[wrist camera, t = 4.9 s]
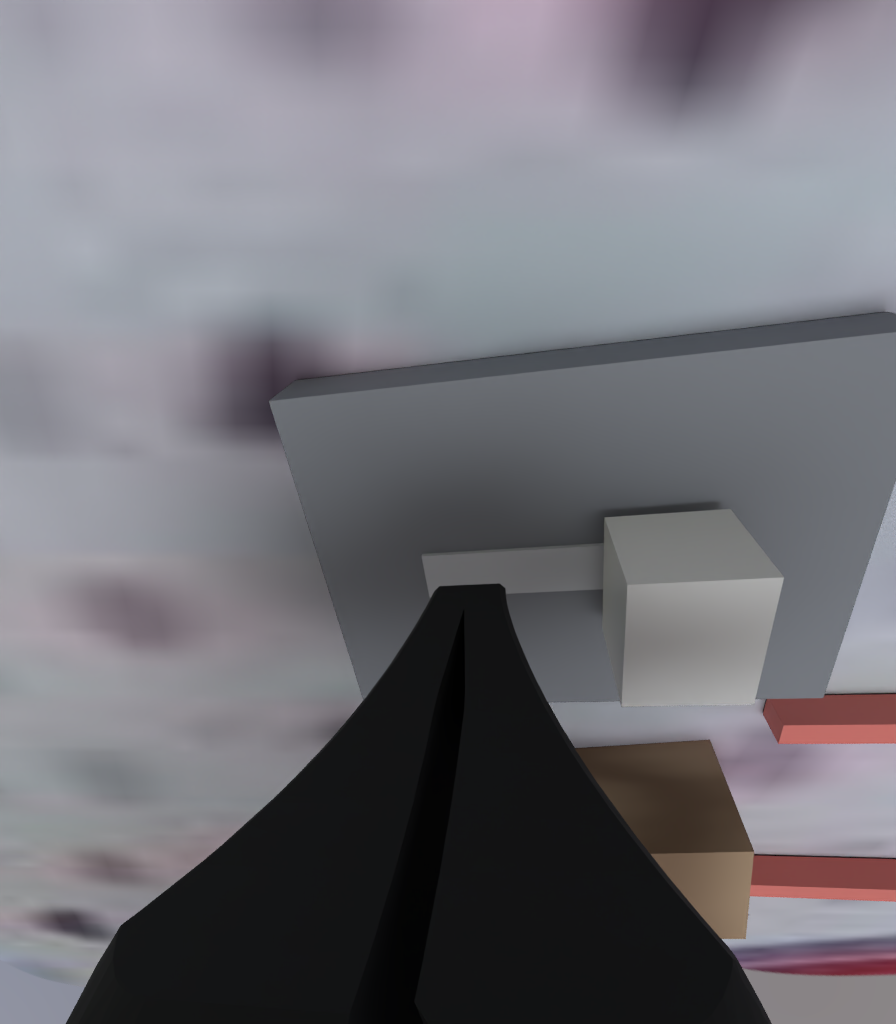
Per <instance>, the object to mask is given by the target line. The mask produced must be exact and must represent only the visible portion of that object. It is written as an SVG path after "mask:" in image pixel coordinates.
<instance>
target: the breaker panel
mask: <svg viewBox="0 0 896 1024" xmlns="http://www.w3.org/2000/svg"><path fill="white" fill-rule="evenodd" d="M269 403H270V407H271V410H272V413H273V416H274V419H275V422H276V425H277V429H278V432H279V435H280V438H281V441H282V444H283V448H284V451H285V454H286V457H287V460H288V463H289V466H290V470H291V473H292V476H293V479H294V482H295V485H296V489H297V492H298V495H299V498H300V501H301V504H302V507H303V511H304V514H305V517H306V520H307V523H308V526H309V530H310V533H311V536H312V539H313V542H314V545H315V548H316V552H317V555H318V558H319V561H320V564H321V567H322V571H323V574H324V577H325V580H326V583H327V586H328V590H329V593H330V596H331V599H332V602H333V605H334V608H335V612H336V615H337V618H338V621H339V624H340V627H341V631H342V634H343V637H344V640H345V643H346V646H347V649H348V653H349V656H350V659H351V662H352V665H353V668H354V672H355V675H356V678H357V681H358V684H359V687H360V690H361V694H362V697H363V700H364V699H365V698H366V696H367V695H368V694H369V692H370V691H371V690H372V688H373V687H374V686H375V684H376V683H377V682H378V680H379V679H380V678H381V676H382V675H383V673H384V672H385V671H386V669H387V668H388V667H389V665H390V664H391V662H392V661H393V659H394V658H395V656H396V655H397V653H398V652H399V650H400V649H401V647H402V646H403V644H404V642H405V641H406V639H407V638H408V636H409V635H410V633H411V632H412V630H413V628H414V627H415V625H416V623H417V622H418V620H419V618H420V617H421V615H422V613H423V611H424V610H425V608H426V606H427V604H428V602H429V600H430V599H431V597H432V595H433V593H434V591H435V590H436V589H437V588H438V587H439V586H453V585H475V584H497V583H500V584H501V585H502V586H503V587H505V589H506V600H507V605H508V610H509V613H510V617H511V620H512V623H513V626H514V629H515V632H516V635H517V637H518V640H519V642H520V645H521V647H522V649H523V652H524V654H525V656H526V659H527V661H528V663H529V666H530V668H531V670H532V672H533V674H534V676H535V678H536V680H537V682H538V684H539V686H540V688H541V690H542V692H543V694H544V696H545V698H546V700H547V702H605V701H620V698H619V694H618V690H617V686H616V682H615V678H614V674H613V670H612V666H611V662H610V657H609V653H608V649H607V645H606V641H605V637H604V633H603V629H602V618H603V565H604V517H617V516H632V515H647V514H662V513H677V512H691V511H706V510H721V509H731V510H732V512H733V513H734V514H735V515H736V517H737V518H738V519H739V520H740V522H741V523H742V524H743V526H744V527H745V528H746V529H747V531H748V532H749V533H750V534H751V536H752V537H753V538H754V540H755V541H756V542H757V543H758V545H759V546H760V547H761V548H762V550H763V551H764V552H765V554H766V555H767V556H768V557H769V559H770V560H771V561H772V563H773V564H774V565H775V566H776V568H777V569H778V570H779V571H780V573H781V574H782V575H783V577H784V580H783V584H782V589H781V593H780V597H779V601H778V606H777V610H776V614H775V618H774V622H773V627H772V631H771V635H770V639H769V643H768V648H767V652H766V656H765V660H764V665H763V669H762V673H761V677H760V681H759V686H758V690H757V694H756V698H755V699H798V698H823V697H824V694H825V691H826V688H827V685H828V682H829V679H830V676H831V673H832V670H833V667H834V664H835V661H836V658H837V655H838V652H839V649H840V646H841V643H842V640H843V637H844V634H845V631H846V628H847V625H848V622H849V619H850V616H851V613H852V610H853V607H854V604H855V601H856V598H857V595H858V592H859V589H860V586H861V583H862V580H863V577H864V574H865V571H866V568H867V565H868V562H869V559H870V556H871V553H872V550H873V547H874V544H875V541H876V538H877V535H878V532H879V529H880V526H881V523H882V520H883V517H884V514H885V511H886V508H887V505H888V502H889V499H890V496H891V493H892V490H893V487H894V484H895V481H896V314H894V313H890V312H882V313H873V314H865V315H856V316H847V317H839V318H830V319H821V320H813V321H804V322H795V323H787V324H778V325H770V326H761V327H752V328H744V329H735V330H726V331H718V332H709V333H700V334H692V335H683V336H675V337H666V338H657V339H649V340H640V341H631V342H623V343H614V344H605V345H597V346H588V347H580V348H571V349H562V350H554V351H545V352H536V353H528V354H519V355H510V356H502V357H493V358H485V359H476V360H467V361H459V362H450V363H441V364H433V365H424V366H415V367H407V368H398V369H389V370H381V371H372V372H364V373H355V374H346V375H338V376H329V377H320V378H312V379H303V380H295V381H294V382H293V383H291V384H290V385H289V386H287V387H286V388H285V389H284V390H282V391H281V392H280V393H279V394H277V395H276V396H275V397H273V398H272V399H271V400H270V401H269Z"/></svg>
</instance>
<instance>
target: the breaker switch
mask: <svg viewBox="0 0 896 1024" xmlns="http://www.w3.org/2000/svg"><path fill="white" fill-rule="evenodd" d="M783 580H784V577H783V575H782V574H781V573H780V571H779V570H778V569H777V568H776V566H775V565H774V564H773V563H772V561H771V560H770V559H769V557H768V556H767V555H766V554H765V552H764V551H763V550H762V548H761V547H760V546H759V545H758V543H757V542H756V541H755V540H754V538H753V537H752V536H751V534H750V533H749V532H748V531H747V529H746V528H745V527H744V526H743V524H742V523H741V522H740V520H739V519H738V518H737V517H736V515H735V514H734V513H733V512H732V510H731V509H721V510H706V511H691V512H677V513H662V514H647V515H632V516H617V517H604V565H603V618H602V629H603V633H604V637H605V641H606V645H607V649H608V653H609V657H610V662H611V666H612V670H613V674H614V678H615V682H616V686H617V690H618V694H619V698H620V702H621V707H644V706H716V705H754V703H755V698H756V694H757V690H758V686H759V681H760V677H761V673H762V669H763V665H764V660H765V656H766V652H767V648H768V643H769V639H770V635H771V631H772V627H773V622H774V618H775V614H776V610H777V606H778V601H779V597H780V593H781V589H782V584H783Z"/></svg>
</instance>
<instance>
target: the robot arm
mask: <svg viewBox="0 0 896 1024" xmlns="http://www.w3.org/2000/svg"><path fill="white" fill-rule="evenodd" d="M66 1024H771V1022H770V1020H769V1018H768V1016H767V1014H766V1012H765V1010H764V1008H763V1006H762V1004H761V1002H760V1000H759V998H758V997H757V995H756V993H755V991H754V989H753V987H752V985H751V984H750V982H749V980H748V978H747V976H746V974H745V973H744V971H743V969H742V967H741V965H740V964H739V962H738V960H737V958H736V957H735V955H734V954H733V952H732V951H731V950H730V949H729V947H728V946H727V945H726V944H725V943H724V942H723V940H722V939H721V938H720V937H719V936H718V935H717V934H716V932H715V931H714V930H713V929H712V928H711V927H710V926H709V924H708V923H707V922H706V921H705V920H704V919H703V917H702V916H701V915H700V914H699V913H698V912H697V910H696V909H695V908H694V907H693V906H692V904H691V903H690V902H689V901H688V900H687V898H686V897H685V896H684V895H683V894H682V892H681V891H680V890H679V889H678V888H677V886H676V885H675V884H674V883H673V882H672V881H671V879H670V878H669V877H668V876H667V874H666V873H665V872H664V871H663V869H662V868H661V867H660V865H659V864H658V863H657V862H656V860H655V859H654V858H653V857H652V855H651V854H650V853H649V852H648V850H647V849H646V848H645V847H644V845H643V844H642V843H641V841H640V840H639V839H638V838H637V836H636V835H635V834H634V832H633V831H632V830H631V828H630V827H629V825H628V824H627V823H626V821H625V820H624V819H623V817H622V816H621V814H620V813H619V812H618V810H617V809H616V808H615V806H614V805H613V803H612V802H611V801H610V799H609V798H608V797H607V795H606V794H605V792H604V791H603V790H602V788H601V787H600V786H599V784H598V783H597V781H596V780H595V778H594V777H593V776H592V774H591V772H590V771H589V769H588V768H587V766H586V765H585V763H584V762H583V760H582V759H581V757H580V756H579V754H578V753H577V751H576V750H575V748H574V746H573V745H572V743H571V741H570V740H569V738H568V736H567V735H566V733H565V732H564V730H563V728H562V727H561V725H560V723H559V721H558V720H557V718H556V716H555V714H554V713H553V711H552V709H551V707H550V705H549V704H548V702H547V700H546V698H545V696H544V694H543V692H542V690H541V688H540V686H539V684H538V682H537V680H536V678H535V676H534V674H533V672H532V670H531V668H530V666H529V663H528V661H527V659H526V656H525V654H524V652H523V649H522V647H521V645H520V642H519V640H518V637H517V635H516V632H515V629H514V626H513V623H512V620H511V617H510V613H509V610H508V605H507V600H506V589H505V587H503V586H502V585H501V584H500V583H497V584H475V585H453V586H439V587H438V588H437V589H436V590H435V591H434V593H433V595H432V597H431V599H430V600H429V602H428V604H427V606H426V608H425V610H424V611H423V613H422V615H421V617H420V618H419V620H418V622H417V623H416V625H415V627H414V628H413V630H412V632H411V633H410V635H409V636H408V638H407V639H406V641H405V642H404V644H403V646H402V647H401V649H400V650H399V652H398V653H397V655H396V656H395V658H394V659H393V661H392V662H391V664H390V665H389V667H388V668H387V669H386V671H385V672H384V673H383V675H382V676H381V678H380V679H379V680H378V682H377V683H376V684H375V686H374V687H373V688H372V690H371V691H370V692H369V694H368V695H367V696H366V698H365V699H364V700H363V702H362V703H361V704H360V705H359V707H358V708H357V709H356V710H355V712H354V713H353V714H352V715H351V717H350V718H349V719H348V720H347V721H346V723H345V724H344V725H343V726H342V727H341V728H340V730H339V731H338V732H337V733H336V734H335V735H334V736H333V738H332V739H331V740H330V741H329V742H328V743H327V744H326V745H325V747H324V748H323V749H322V750H321V751H320V752H319V753H318V754H317V755H316V756H315V757H314V758H313V759H312V760H311V761H310V762H309V763H308V764H307V766H306V767H305V768H304V769H303V770H302V771H301V772H300V773H299V774H298V775H297V776H296V777H295V778H294V779H293V780H292V781H291V782H290V783H289V784H288V785H287V786H286V787H285V788H284V789H283V790H282V791H281V792H280V793H279V794H278V795H277V796H276V797H275V798H274V799H273V800H271V801H270V802H269V803H268V804H267V805H266V806H265V807H264V808H263V809H262V810H260V811H259V812H258V813H257V814H256V815H255V816H254V817H253V818H252V819H250V820H249V821H248V822H247V823H246V824H245V825H244V826H243V827H242V828H240V829H239V830H238V831H237V832H236V833H235V834H234V835H233V836H232V837H230V838H229V839H228V840H227V841H226V842H225V843H224V844H223V845H222V846H220V847H219V848H218V849H217V850H216V851H215V852H213V853H212V854H211V855H210V856H209V857H207V858H206V859H205V860H204V861H203V862H201V863H200V864H199V865H198V866H196V867H195V868H194V869H193V870H191V871H190V872H189V873H187V874H186V875H185V876H184V877H182V878H181V879H180V880H179V881H177V882H176V883H175V884H174V885H172V886H171V887H170V888H169V889H167V890H166V891H165V892H163V893H162V894H161V895H160V896H158V897H157V898H156V899H155V900H153V901H152V902H151V903H150V904H148V905H147V906H146V907H145V908H143V909H142V910H141V911H139V912H138V913H137V914H135V915H134V916H133V917H131V918H130V919H129V920H127V921H126V922H125V923H123V924H122V925H121V926H120V928H119V929H118V931H117V933H116V934H115V936H114V938H113V939H112V941H111V943H110V944H109V946H108V948H107V949H106V951H105V953H104V954H103V956H102V957H101V959H100V961H99V962H98V964H97V966H96V968H95V970H94V971H93V973H92V975H91V977H90V979H89V981H88V983H87V985H86V987H85V988H84V991H83V992H82V994H81V996H80V998H79V1000H78V1002H77V1004H76V1006H75V1007H74V1009H73V1011H72V1013H71V1015H70V1017H69V1019H68V1021H67V1022H66Z"/></svg>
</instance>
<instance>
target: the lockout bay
mask: <svg viewBox="0 0 896 1024" xmlns="http://www.w3.org/2000/svg"><path fill="white" fill-rule="evenodd" d="M763 715H764V717H765V719H766V721H767V723H768V725H769V727H770V729H771V730H772V732H773V734H774V736H775V738H776V740H777V742H778V744H861V743H896V694H869V695H824V697H823V698H798V699H767V700H766V704H765V708H764V712H763ZM750 896H762V897H789V898H815V899H842V900H868V901H895V902H896V859H868V858H830V857H793V856H755V855H754V858H753V868H752V878H751V888H750Z"/></svg>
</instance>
